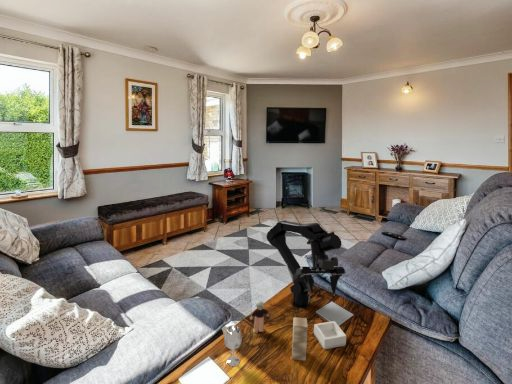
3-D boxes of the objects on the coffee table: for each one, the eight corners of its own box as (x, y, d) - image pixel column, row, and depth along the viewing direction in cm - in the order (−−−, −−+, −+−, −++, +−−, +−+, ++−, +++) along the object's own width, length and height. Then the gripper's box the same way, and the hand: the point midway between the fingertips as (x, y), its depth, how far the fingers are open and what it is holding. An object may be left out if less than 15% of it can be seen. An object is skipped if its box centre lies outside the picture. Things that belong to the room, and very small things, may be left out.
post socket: (324, 349, 103) (324, 339, 102) (313, 333, 111) (314, 324, 110) (345, 345, 105) (346, 335, 104) (333, 330, 113) (334, 321, 112)
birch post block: (292, 359, 98) (293, 325, 95) (292, 349, 102) (293, 317, 100) (305, 360, 97) (307, 326, 95) (304, 350, 102) (306, 318, 99)
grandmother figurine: (253, 336, 109) (253, 306, 106) (248, 330, 112) (249, 301, 109) (270, 330, 112) (271, 301, 110) (265, 324, 115) (266, 296, 113)
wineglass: (224, 355, 99) (224, 324, 97) (241, 354, 100) (241, 323, 97) (224, 368, 94) (224, 336, 91) (242, 367, 94) (242, 335, 92)
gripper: (304, 249, 108) (308, 293, 102) (349, 250, 112) (355, 292, 106) (294, 254, 118) (297, 294, 112) (335, 255, 122) (341, 294, 116)
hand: (323, 294), depth 111 cm, fingers open, 9 cm apart
